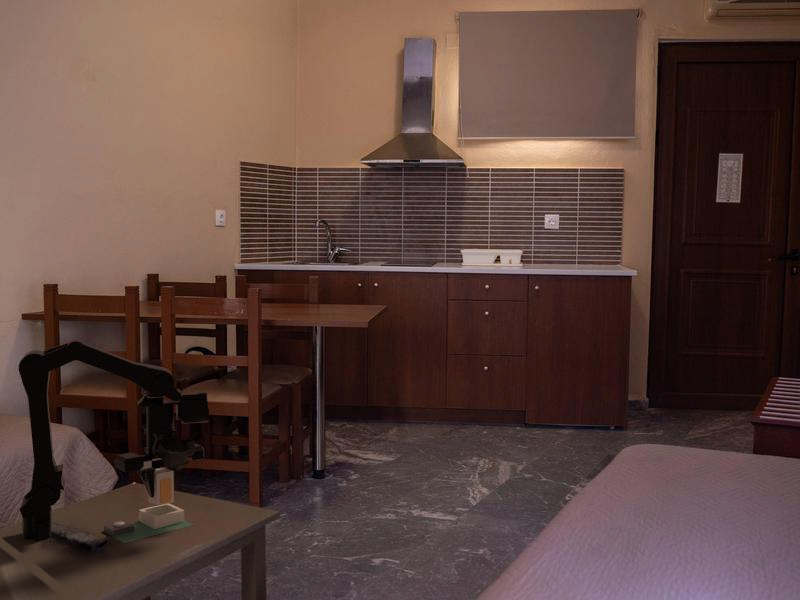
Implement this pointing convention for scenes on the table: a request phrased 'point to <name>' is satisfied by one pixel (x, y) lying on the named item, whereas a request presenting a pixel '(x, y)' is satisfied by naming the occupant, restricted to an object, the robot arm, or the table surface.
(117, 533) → the push button
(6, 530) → the table surface
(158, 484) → the plug
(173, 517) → the header board
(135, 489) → the table surface
